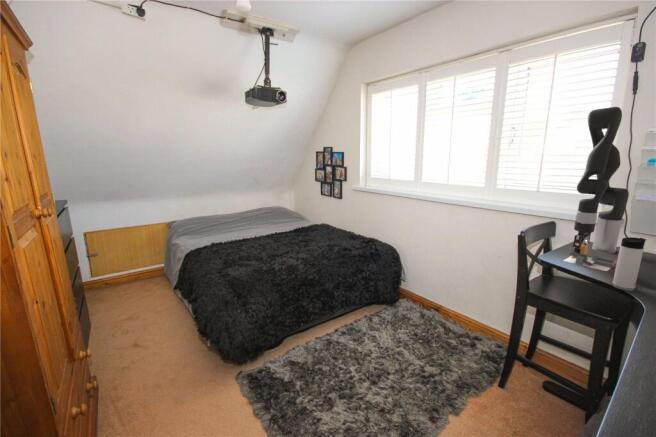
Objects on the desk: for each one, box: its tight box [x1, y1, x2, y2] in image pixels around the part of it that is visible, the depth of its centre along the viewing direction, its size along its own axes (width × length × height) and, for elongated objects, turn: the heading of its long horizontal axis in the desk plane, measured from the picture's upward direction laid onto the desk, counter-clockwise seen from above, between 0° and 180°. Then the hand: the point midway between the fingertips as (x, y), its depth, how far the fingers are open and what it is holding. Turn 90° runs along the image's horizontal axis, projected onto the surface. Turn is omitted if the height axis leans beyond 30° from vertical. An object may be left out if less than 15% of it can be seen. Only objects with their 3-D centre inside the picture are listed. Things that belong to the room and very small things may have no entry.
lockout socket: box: [591, 256, 617, 269], centre depth 142 cm, size 8×8×2 cm
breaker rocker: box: [569, 250, 595, 266], centre depth 143 cm, size 4×9×1 cm, turn 36°
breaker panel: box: [562, 255, 611, 272], centre depth 144 cm, size 15×16×2 cm
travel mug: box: [612, 236, 647, 292], centre depth 118 cm, size 6×7×20 cm
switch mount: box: [575, 254, 589, 266], centre depth 143 cm, size 6×2×3 cm, turn 126°
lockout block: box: [577, 244, 589, 255], centre depth 150 cm, size 4×4×6 cm
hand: (579, 253), depth 150 cm, fingers open, 8 cm apart
